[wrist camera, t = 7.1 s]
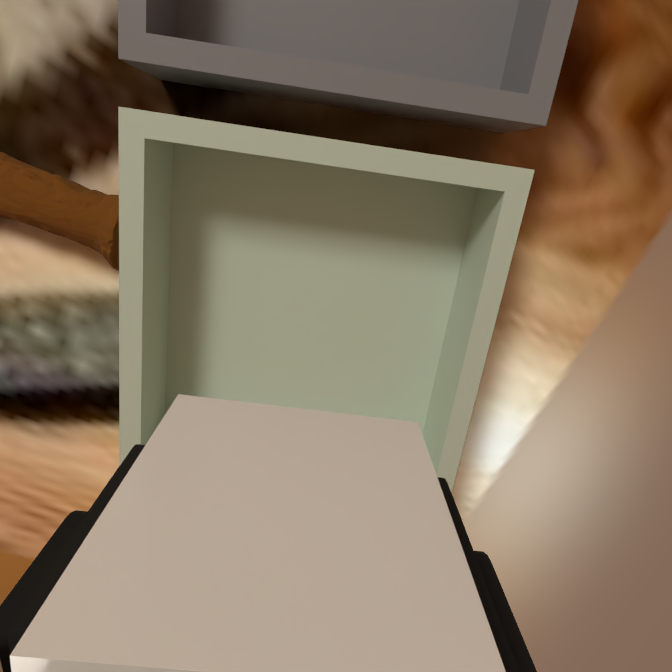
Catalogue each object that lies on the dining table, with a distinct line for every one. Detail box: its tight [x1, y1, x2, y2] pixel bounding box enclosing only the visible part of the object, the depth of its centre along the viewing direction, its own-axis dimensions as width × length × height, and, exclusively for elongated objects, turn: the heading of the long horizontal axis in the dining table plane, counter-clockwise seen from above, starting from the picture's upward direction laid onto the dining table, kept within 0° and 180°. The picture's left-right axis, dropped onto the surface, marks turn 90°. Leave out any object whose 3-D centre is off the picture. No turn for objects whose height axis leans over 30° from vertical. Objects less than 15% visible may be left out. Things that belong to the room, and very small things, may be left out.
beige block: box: [10, 394, 506, 672], centre depth 7 cm, size 5×4×5 cm
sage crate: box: [119, 107, 535, 493], centre depth 22 cm, size 15×15×4 cm
